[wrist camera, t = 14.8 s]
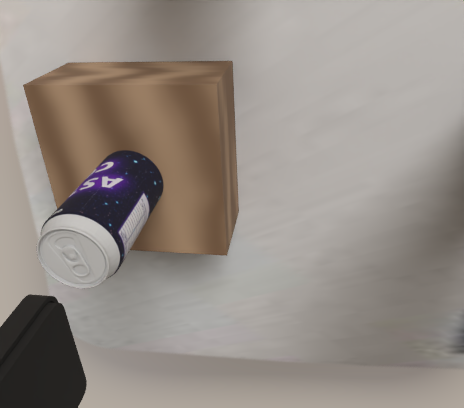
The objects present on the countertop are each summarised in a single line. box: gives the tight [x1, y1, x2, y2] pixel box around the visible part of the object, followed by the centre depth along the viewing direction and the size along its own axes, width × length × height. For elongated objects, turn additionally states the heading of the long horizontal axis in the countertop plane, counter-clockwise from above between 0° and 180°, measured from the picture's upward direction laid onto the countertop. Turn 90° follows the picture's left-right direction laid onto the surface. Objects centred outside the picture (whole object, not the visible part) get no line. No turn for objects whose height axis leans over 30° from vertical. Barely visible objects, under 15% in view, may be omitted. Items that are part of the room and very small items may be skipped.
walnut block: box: [23, 61, 239, 255], centre depth 42 cm, size 16×16×8 cm
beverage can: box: [36, 150, 164, 289], centre depth 34 cm, size 6×6×12 cm
